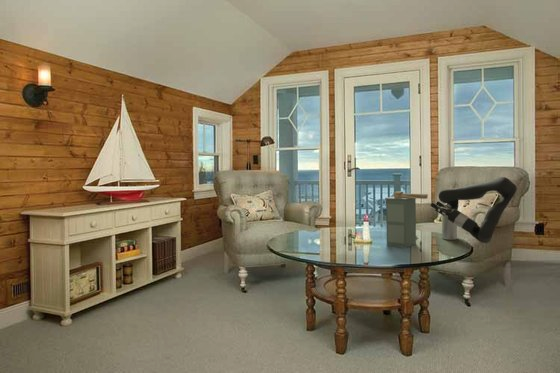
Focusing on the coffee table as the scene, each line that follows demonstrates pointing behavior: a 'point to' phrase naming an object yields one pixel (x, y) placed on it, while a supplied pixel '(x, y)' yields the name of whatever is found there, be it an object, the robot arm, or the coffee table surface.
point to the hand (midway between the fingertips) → (434, 203)
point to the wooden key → (410, 195)
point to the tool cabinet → (401, 221)
